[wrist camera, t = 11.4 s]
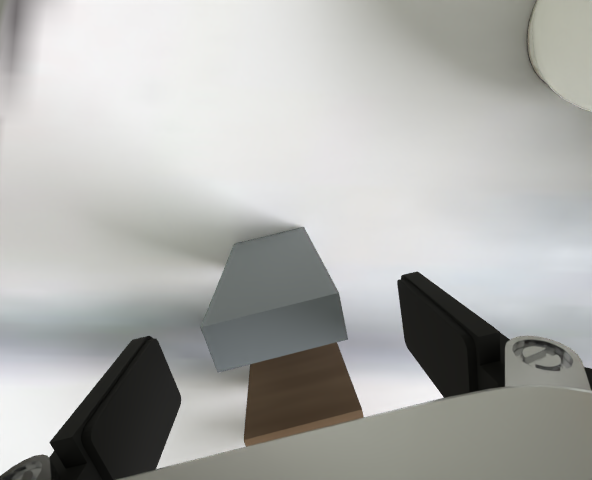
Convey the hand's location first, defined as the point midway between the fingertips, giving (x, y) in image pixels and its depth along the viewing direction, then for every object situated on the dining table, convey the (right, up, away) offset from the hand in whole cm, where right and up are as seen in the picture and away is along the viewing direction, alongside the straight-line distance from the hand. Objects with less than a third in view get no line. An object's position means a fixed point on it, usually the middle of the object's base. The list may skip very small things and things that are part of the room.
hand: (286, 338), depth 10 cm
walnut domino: (0, -2, +11) cm, 11 cm away
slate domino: (-1, +3, +9) cm, 10 cm away
